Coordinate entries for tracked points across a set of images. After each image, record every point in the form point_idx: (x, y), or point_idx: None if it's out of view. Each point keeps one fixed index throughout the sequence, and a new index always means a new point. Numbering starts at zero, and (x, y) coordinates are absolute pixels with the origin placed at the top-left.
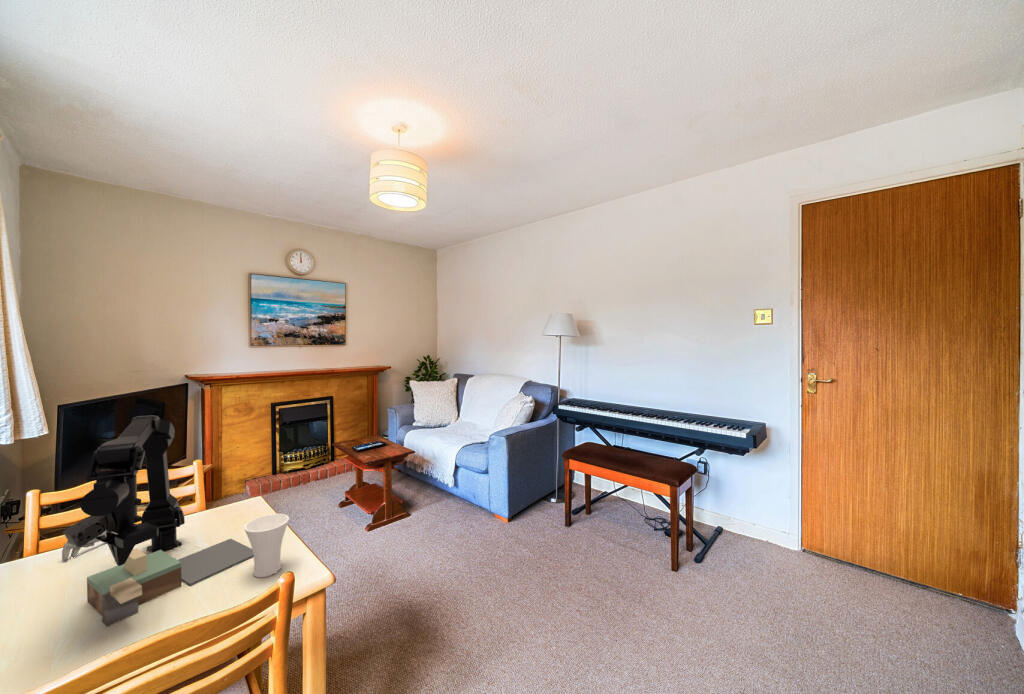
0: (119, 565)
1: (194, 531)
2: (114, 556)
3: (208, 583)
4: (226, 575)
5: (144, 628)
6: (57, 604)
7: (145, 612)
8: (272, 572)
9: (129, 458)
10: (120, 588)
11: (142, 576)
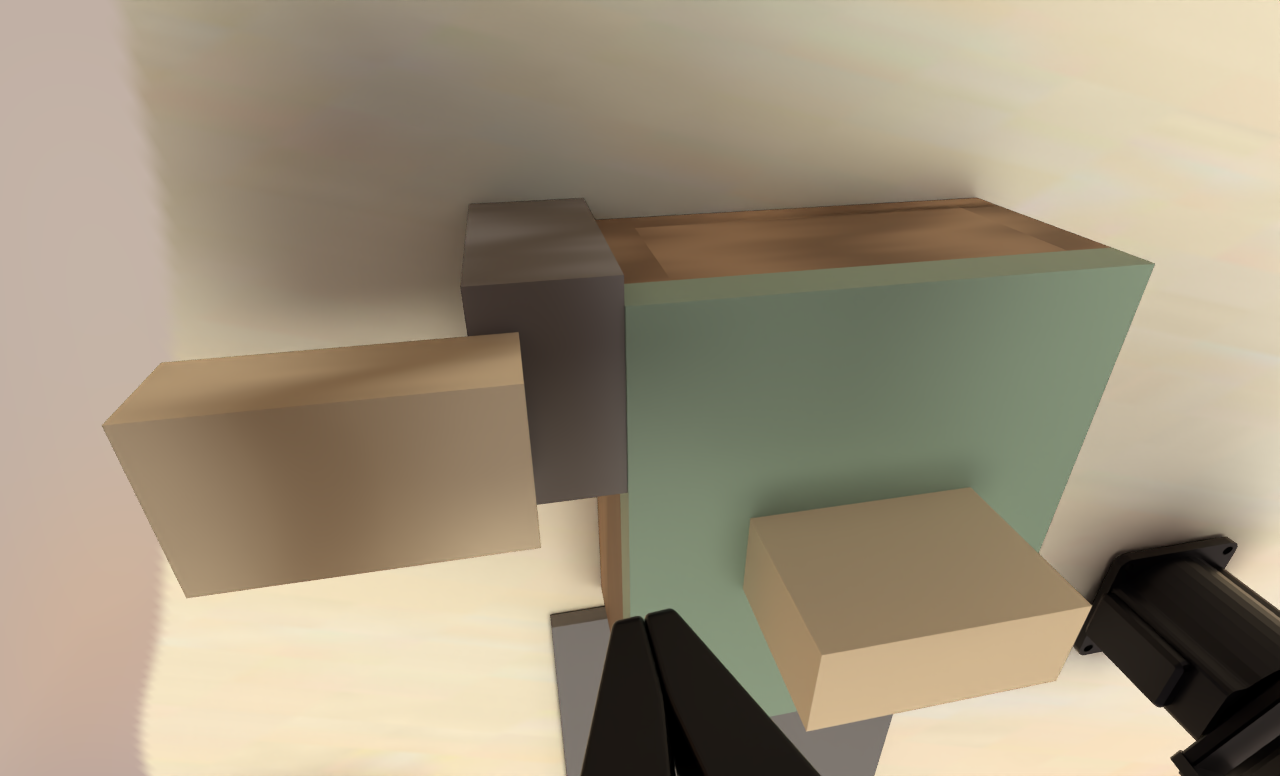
0: (611, 630)
1: (1135, 694)
2: (711, 758)
3: (487, 676)
4: (492, 739)
5: None
6: (1169, 58)
7: None
8: None
9: None
10: (325, 448)
11: (663, 557)
